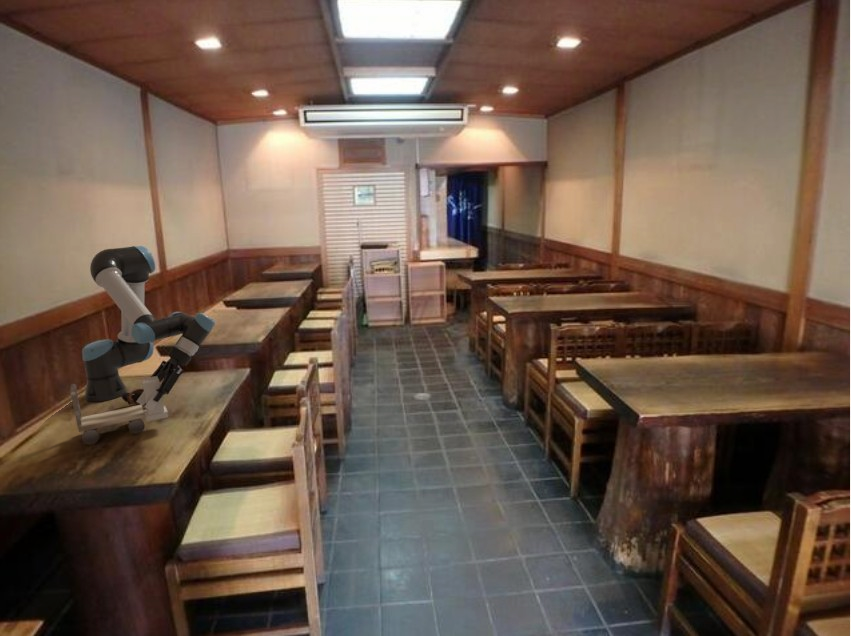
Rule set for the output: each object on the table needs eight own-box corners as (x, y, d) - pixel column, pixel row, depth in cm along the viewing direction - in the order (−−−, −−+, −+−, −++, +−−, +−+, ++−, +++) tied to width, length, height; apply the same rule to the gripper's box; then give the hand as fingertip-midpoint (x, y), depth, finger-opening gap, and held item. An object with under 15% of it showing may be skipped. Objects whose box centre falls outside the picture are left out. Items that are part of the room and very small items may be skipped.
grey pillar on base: (144, 415, 190) (138, 379, 187) (165, 410, 194) (160, 374, 191) (146, 421, 184) (140, 384, 181) (168, 416, 188) (162, 380, 185)
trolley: (80, 433, 188) (70, 383, 183) (143, 419, 198) (135, 371, 194) (80, 447, 177) (69, 393, 173) (147, 431, 188) (138, 380, 183)
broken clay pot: (157, 401, 218) (155, 388, 212) (147, 419, 210) (145, 406, 205) (127, 395, 216) (125, 382, 211) (116, 413, 209) (113, 400, 204)
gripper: (203, 361, 189) (164, 417, 181) (179, 352, 202) (142, 404, 195) (186, 351, 184) (145, 408, 176) (163, 342, 197) (124, 395, 190)
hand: (144, 406), depth 185 cm, fingers closed on grey pillar on base, 7 cm apart
